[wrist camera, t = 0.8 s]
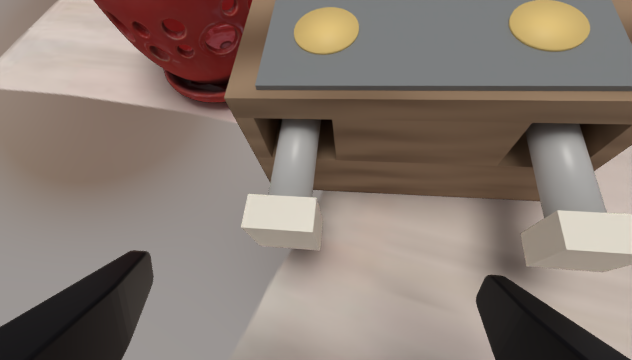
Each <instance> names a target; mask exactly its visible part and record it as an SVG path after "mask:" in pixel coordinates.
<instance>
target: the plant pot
mask: <svg viewBox="0 0 632 360" xmlns="http://www.w3.org/2000/svg"><path fill="white" fill-rule="evenodd" d="M94 1H95V3H96V4H97V5H98V6H99V8H100V9H101V10H102V11H103V12H104V14H105V15H106V16H107V17H108V18H109V19H110V21H111V22H112V23H113V24H114V25H115V26H116V27H117V28H118V30H119V31H120V32H121V33H122V34H123V35H124V36H125V37H126V38H127V39H128V40H129V41H130V42H131V43H132V44H133V45H134V46H135V47H136V48H137V49H138V50H139V51H140V52H142V53H143V54H144V55H145V56H146V57H148V58H149V59H150V60H151V61H153V62H154V63H156V64H157V65H159V66H160V67H162V68H163V69H164V73H165V76H166V78H167V80H168V82H169V83H170V84H171V86H172V87H173V88H174V89H175V90H177V91H178V92H179V93H181V94H182V95H184V96H186V97H188V98H191V99H194V100H198V101H203V102H226V101H225V99H224V96H225V93H226V89H227V86H228V83H229V79H230V76H231V72H232V69H233V65H234V62H235V59H236V55H237V52H238V48H239V45H240V41H241V38H242V34H243V31H244V28H245V24H246V21H247V17H248V14H249V10H250V7H251V4H252V0H94Z"/></svg>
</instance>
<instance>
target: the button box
mask: <svg viewBox="0 0 632 360" xmlns="http://www.w3.org/2000/svg"><path fill="white" fill-rule="evenodd" d="M275 1H276V0H252V4H251V7H250V10H249V14H248V17H247V21H246V24H245V28H244V31H243V34H242V38H241V41H240V45H239V48H238V52H237V55H236V59H235V62H234V65H233V69H232V72H231V76H230V79H229V83H228V86H227V89H226V93H225V96H224V99H225V101H226V103H227V105H228V106H229V108H230V110H231V112H232V114H233V116H234V117H235V119H236V121H237V123H238V125H239V127H240V128H241V130H242V132H243V134H244V135H245V137H246V139H247V141H248V143H249V144H250V147H251V148H252V150H253V152H254V154H255V156H256V157H257V159H258V161H259V163H260V165H261V166H262V169H263V170H264V172H265V174H266V176H267V178H268V179H269V181H270V183H271V177H272V172H273V166H274V161H275V156H276V150H277V145H278V139H279V134H280V128H281V123H282V119H321V124H320V133H319V141H318V150H317V158H316V167H315V175H314V184H313V190H328V191H348V192H369V193H389V194H409V195H430V196H450V197H470V198H491V199H511V200H532V201H540V197H539V192H538V188H537V183H536V178H535V174H534V169H533V165H532V160H531V156H530V151H529V147H528V142H527V137H526V133H525V131H526V130H527V129H528V128H529V126H530V125H531V124H532V123H572V124H579V125H580V128H581V131H582V134H583V138H584V141H585V144H586V147H587V150H588V154H589V157H590V160H591V163H592V166H593V170H594V171H595V170H596V169H598V168H599V167H601V166H602V165H604V164H605V163H607V162H608V161H609V160H611V159H612V158H614V157H615V156H617V155H618V154H619V153H621V152H622V151H624V150H625V149H627V148H628V147H629V146H631V145H632V91H396V90H256V87H255V83H256V79H257V75H258V71H259V66H260V62H261V58H262V54H263V50H264V46H265V42H266V38H267V33H268V29H269V25H270V21H271V17H272V13H273V9H274V5H275ZM612 2H613V5H614V7H615V9H616V11H617V13H618V16H619V18H620V20H621V22H622V24H623V26H624V29H625V31H626V33H627V35H628V37H629V39H630V42H631V44H632V0H612Z"/></svg>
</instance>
